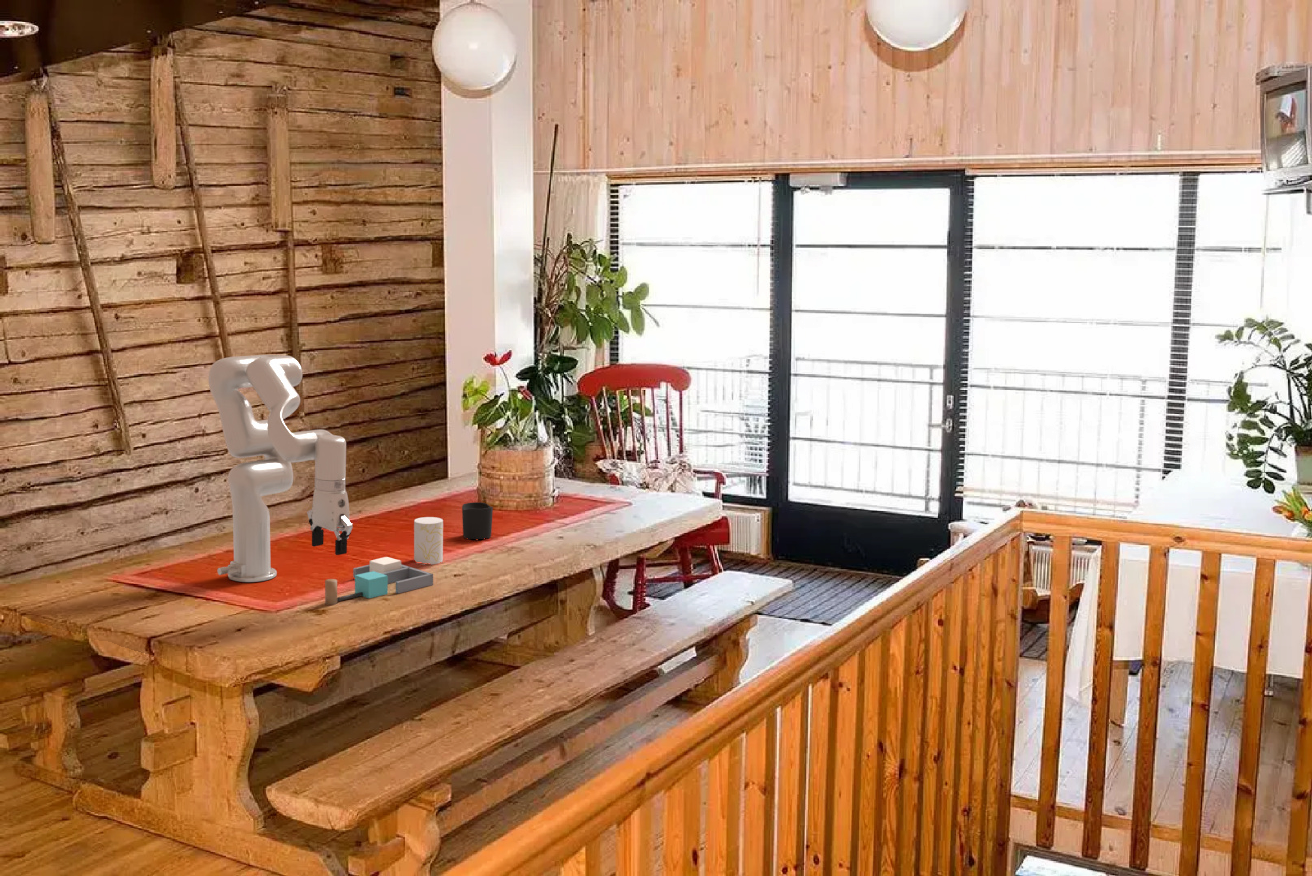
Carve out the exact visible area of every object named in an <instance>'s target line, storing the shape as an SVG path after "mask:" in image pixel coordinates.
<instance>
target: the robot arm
mask: <svg viewBox="0 0 1312 876" xmlns="http://www.w3.org/2000/svg"><path fill="white" fill-rule="evenodd" d="M207 377H208V379H207V380H208V386H209V390H210V394H211V396H212V398H213V400H214V402H215V405H216V407H217V410H218V413H219V417H220V423H221V427H222V432H223V437H224V441H225V446H226V449H227V451H228V453H229V455H230V456H231V457H234V458H237V459H244V458H252V457H259V456H263V457H264V459H262V460H259V459H258V460H253V461H247V462H243V463H238V464H237V465H235V466H233V467H232V468H231V469H230V471H229V472H228V476H227V483H228V487H229V488H228V489H229V493H230V498H231V499H230V500H231V506H232V526H233V527H232V531H233V532H232V535H233V560H231V561H230V564H228V565H227V566H222V567H218V568H217V574H218V575H219V576H222V575H226V574H227V577H228V579H229V580H231V581H234V582H242V583H255V582H264V581H268V580H271V579H274V578H275V577H276V576H277V573H278V572H277V570H276V568H273V567H271V517H270V515H271V514H270V510H269V508H268V505H266V503H265V501H263V498H262V497H263V496H265V497H266V496H269V495H274V494H280V493H284V492H287V491H288V490H290V489H291V488H292V485H293V484H294V483H293V482H294V471H293V470H294V469H293V465H292V463H301V462H308V461H314V490H313V498H312V504H311V509H310V510H307V512H306V513H307V517H308V523H309V525H310V531H311V546H312V547H318V546H319V547H320V546H323V545H324V533H325V531H324V530H327V531H330V532H334V534H335V537H336V539H335V541H334V542H335V543H334V544H335V545H334V546H335V547H334V555H336V556H342V555H345V554H347V552H348V539H349V538H350V537H349V536H350V535H351V534H352V530H353V528H354V527H353V525H354V524H353V523H351V521H350V505H349V503H350V502H349V497H348V493H347V491H346V478H347V477H346V476H347V475H346V474H347V473H346V472H347V471H346V469H347V466H346V465H347V441H346V438H344V437H343V436H341V435H335V434H332V433H331V432H330V431H328V430H326V429H322V428H321V429H312V430H311V429H310V430H304V431H303V430H302V431H295V432H291V430H289V428H288V427H287V425H286V424H285V421H284V419H286V418H288V417H289V416H290V415H292V414H293V413H294V412H295V411H296V410H297V409H298V408H299V406H300V404H301V397H300V395H299V393H298V392H297V390H296V389H295V388H294V387H297V386H298V385H299V384H300V383H301V381H302V379H303V368H302V366H301V364H300V362H299V361H298V360H297V359H296V358H295V357H293V356H290V355H279V354H278V355H277V354H256V355H254V354H253V355H241V356H240V355H239V356H238V355H237V356H229V357H225V358H224V357H223V358H220V359H219V360H216V361H214V363H212V364H211V366H210V369H209V370H208V376H207ZM246 388H253V389H254V391H255V392H256V394H257V395H258V396H259V398H260V400H261V402H262V403H263V404H264V406H265V407H266V408H267V411H268V412H269V414H268V416H267V417H268V418H267V419H262V420H256V418H255V415H254V412H253V407H252V404H251V402H250V401H249V399H248V398H247V397H246V395H244V393H242V392H241V391H240V390H239V389H246Z"/></svg>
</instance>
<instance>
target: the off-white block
mask: <svg viewBox="0 0 1312 876" xmlns="http://www.w3.org/2000/svg"><path fill="white" fill-rule="evenodd" d="M401 564H402V560H400V559H397V558H396V559H395V558H392V557H388V556H384V557H380V558H376V559H373V560H369V565H370V572H372V571H375V572H378V573H385V572H389V571H393V570H398V569H401Z"/></svg>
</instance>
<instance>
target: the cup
mask: <svg viewBox="0 0 1312 876" xmlns="http://www.w3.org/2000/svg"><path fill="white" fill-rule="evenodd" d="M413 531H414V532H413V535H414V536H413V537H414V538H413V544H414V545H413V546H414V547H413V561H414V560H415V561H416V562H422V563H430V564H431V565H438V564H441V563H442V562H443V560H444V556H443V555H444V546H443V545H444V520H443V518H440V517H436V516H435V517H434V516H424V517H418V518H415V519H414V522H413ZM440 562H441V563H440Z"/></svg>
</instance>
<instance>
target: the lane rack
mask: <svg viewBox="0 0 1312 876" xmlns="http://www.w3.org/2000/svg"><path fill="white" fill-rule="evenodd" d="M352 569H353V571H352V575H353V577H354V578H355V575H358V574H363V573H367V572H370V564H366V565H362V566H358V567H354V568H352ZM381 574H384V575H387V576H388V585H389V584H393V583H395V594H402V593H407V592H410V591H413V590H417V589H422V588H426V587H429V586H433V585H434V574H433V573H431V572H428V571H424V570H422V569H418V568H415V567H412V566H408V565H405V564H402V563H401V569H398V570H393V571H389V572H385V573H381ZM353 577H352V578H353Z"/></svg>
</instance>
